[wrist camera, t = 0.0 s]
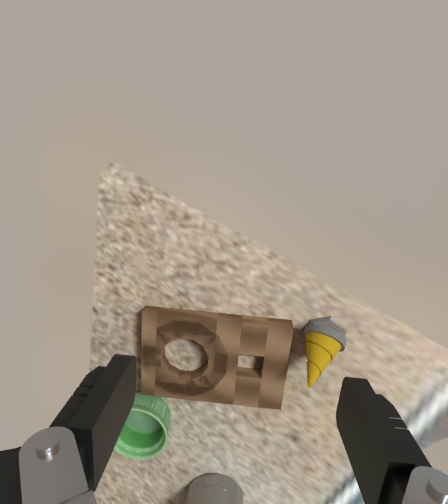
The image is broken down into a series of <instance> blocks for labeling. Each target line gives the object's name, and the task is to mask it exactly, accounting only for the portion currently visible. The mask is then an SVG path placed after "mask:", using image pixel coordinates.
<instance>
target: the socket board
mask: <svg viewBox="0 0 448 504" xmlns="http://www.w3.org/2000/svg"><path fill="white" fill-rule="evenodd" d="M293 329H294V327H293V324H292V320H284V319H274V318H264V317H254V316H243V315H233V314H223V313H213V312H203V311H193V310H183V309H173V308H162V307H152V306H146V307H145V308H144V310H143V311H142V341H141V395H149V396H159V397H168V398H177V399H187V400H196V401H205V402H215V403H224V404H234V405H243V406H252V407H262V408H271V409H281V404H282V398H283V392H284V385H285V379H286V373H287V367H288V360H289V354H290V348H291V342H292V335H293ZM179 338H183V339H192V340H194V341H195V342H197V343H199V344H200V345H202V346H203V347H204V349H205V351H206V353H207V355H208V356H209V358H208V361H207V362H206V364H205V365H204V366H203V367H202V368H199V369H197V370H194V371H184V370H179V369H177V368H176V367H174V366H172V365H171V364H170V363H169V361H168V360H167V358H166V356H165V355H164V349H165V346H166V345H167V343H169V342H171V341H174V340H176V339H179ZM239 354H243V355H253V356H262V363H261V370H260V369H250V368H241V367H237V364H238V355H239Z"/></svg>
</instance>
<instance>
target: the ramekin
mask: <svg viewBox="0 0 448 504" xmlns="http://www.w3.org/2000/svg"><path fill="white" fill-rule="evenodd" d="M169 421H170V412H169V408H168V406H167V405H166V403H165V402H164V401H163V400H162V399H161V398H160V397H158V396H149V395H141V392H136V393H135V399H134V403H133V406H132V409H131V411H130V413H129V415H128V418H127V420H126V422H125V424H124V427H123V429H122V431H121V433H120V436H119V438H118V440H117V443H116V445H115V447H114V450H115V451H116V452H117V453H119V454H120V455H122V456H124V457H127V458H130V459H136V460H145V459H150V458H153V457H155V456H157V455H158V454H159V453H161V452H162V450H163V449H164V448H165V446H166V444H167V440H168V427H169Z"/></svg>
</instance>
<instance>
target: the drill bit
mask: <svg viewBox="0 0 448 504" xmlns="http://www.w3.org/2000/svg"><path fill="white" fill-rule="evenodd" d="M330 317H331V316H328V317H323V318H317V319H312V320H310V323H309V324H308V325H306V326H305V329H304V332H303V336H304V338H305V339H306V357H307V359H308V361H307V378H308V388H310V387H311V386H312V384H313V383H314V382H315V381H316V379H317V378H318V377H319V375H320V374H321V373H322V372H323V371H324V369H325V368H326V367H327V366H328V364H329V363H330V362H331V361H332V359H333V358H334V357H335V356H336V354H337V353H338V352H340V351H343V350H344V349H345V345H346V339H345V334H346V332H345V331H344V330H342V329H341V328H340V327H339V326H337V325H336V324H335V323H333V322H332V321H331V320H330Z"/></svg>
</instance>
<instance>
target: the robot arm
mask: <svg viewBox="0 0 448 504" xmlns="http://www.w3.org/2000/svg"><path fill="white" fill-rule="evenodd" d="M135 393H136V357H135V356H130V355H120V354H115V355H114V356H113V357H112V359H111V361H110V362H109V364H108V365H107V367H102V366H98V367H97V368H95V369H94V370H93V371H91V372H90V373H88V374H87V375H86V377H85V378H84V379H83V381H82V382H81V384H80V386H79V387H78V388H77V389H76V390H75V392H74V393H73V396H71V397H70V399H69V400H68V401H67V403H66V404H65V406H64V407H63V408H62V410H61V411H60V413H59V414H58V415H57V417H56V418H55V419H54V421H53V422H52V424H51V425H50V426H49V428H46V429H43V430H41V431H39V432H37V433H35V434H34V435H32V436H31V437H30V438H29V439H28V440H27V441H26V442H25V443H24V444H23V446H22V447H18V448H15V449H10V450H4V451H0V504H97V503H96V499H95V496H94V493H93V492H95V490H96V488H97V485H98V483H99V481H100V479H101V476H102V474H103V472H104V470H105V467H106V465H107V463H108V461H109V458H110V456H111V454H112V452H113V449H114V447H115V445H116V443H117V440H118V438H119V436H120V433H121V431H122V429H123V427H124V424H125V422H126V420H127V418H128V415H129V413H130V411H131V409H132V406H133V403H134V399H135ZM336 421H337V427H338V430H339V433H340V436H341V438H342V441H343V444H344V447H345V449H346V452H347V455H348V458H349V461H350V463H351V466H352V469H353V472H354V474H355V477H356V480H357V483H358V486H359V488H360V491H361V494H362V497H363V499H364V502H365V504H448V475H446V474H444V473H443V472H441V471H439V470H436V469H434V468H432V467H431V465H430V463H429V462H428V460H427V459H426V457H425V455H424V454H423V452H422V451H421V449H420V447H419V446H418V444H417V442H416V441H415V439H414V438H413V436H412V434H411V433H410V431H409V430H407V426H406V425H405V423H404V422H403V420H401V417H400V415H399V413H398V412H397V410H396V409H395V407H394V406H393V405H392V404H391V403H390V402H389V401H388V400H387V399H386V398H385V397H384V396H382V395H379V394H375V392H374V390H373V389H372V387H371V385H370V383H369V382H368V380H367V379H362V378H352V377H345V378H344V380H343V383H342V387H341V392H340V397H339V401H338V406H337V411H336ZM185 504H243V494H242V490H241V488H240V487H239V485H238V484H237V483H236V482H235V481H234V480H232V479H230V478H229V477H226V476H223V475H218V474H208V475H203V476H200V477H198V478H196V479H195V480H194V481H193V482H192V483H191V484H190V485H189V488H188V491H187V497H186V503H185Z"/></svg>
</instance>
